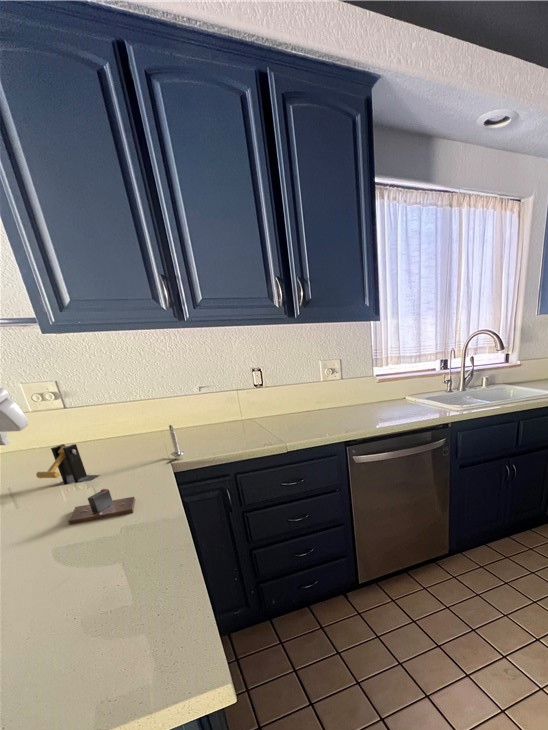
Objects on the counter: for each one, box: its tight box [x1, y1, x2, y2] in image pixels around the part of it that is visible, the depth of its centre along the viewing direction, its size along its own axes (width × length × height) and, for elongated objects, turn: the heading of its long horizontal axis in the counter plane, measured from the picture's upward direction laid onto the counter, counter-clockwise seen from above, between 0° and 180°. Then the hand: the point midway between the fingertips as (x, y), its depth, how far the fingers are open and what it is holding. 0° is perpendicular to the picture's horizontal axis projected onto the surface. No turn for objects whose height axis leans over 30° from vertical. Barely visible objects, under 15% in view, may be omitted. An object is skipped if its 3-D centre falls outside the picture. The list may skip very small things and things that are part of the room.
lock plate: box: [68, 496, 136, 526], centre depth 112 cm, size 14×10×3 cm
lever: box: [35, 445, 68, 479], centre depth 132 cm, size 12×6×2 cm, turn 175°
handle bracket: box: [50, 443, 101, 488], centre depth 137 cm, size 11×9×13 cm
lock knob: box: [87, 488, 113, 512], centre depth 111 cm, size 6×2×4 cm, turn 175°
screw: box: [168, 424, 185, 461], centre depth 159 cm, size 13×5×5 cm
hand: (3, 444), depth 114 cm, fingers closed
